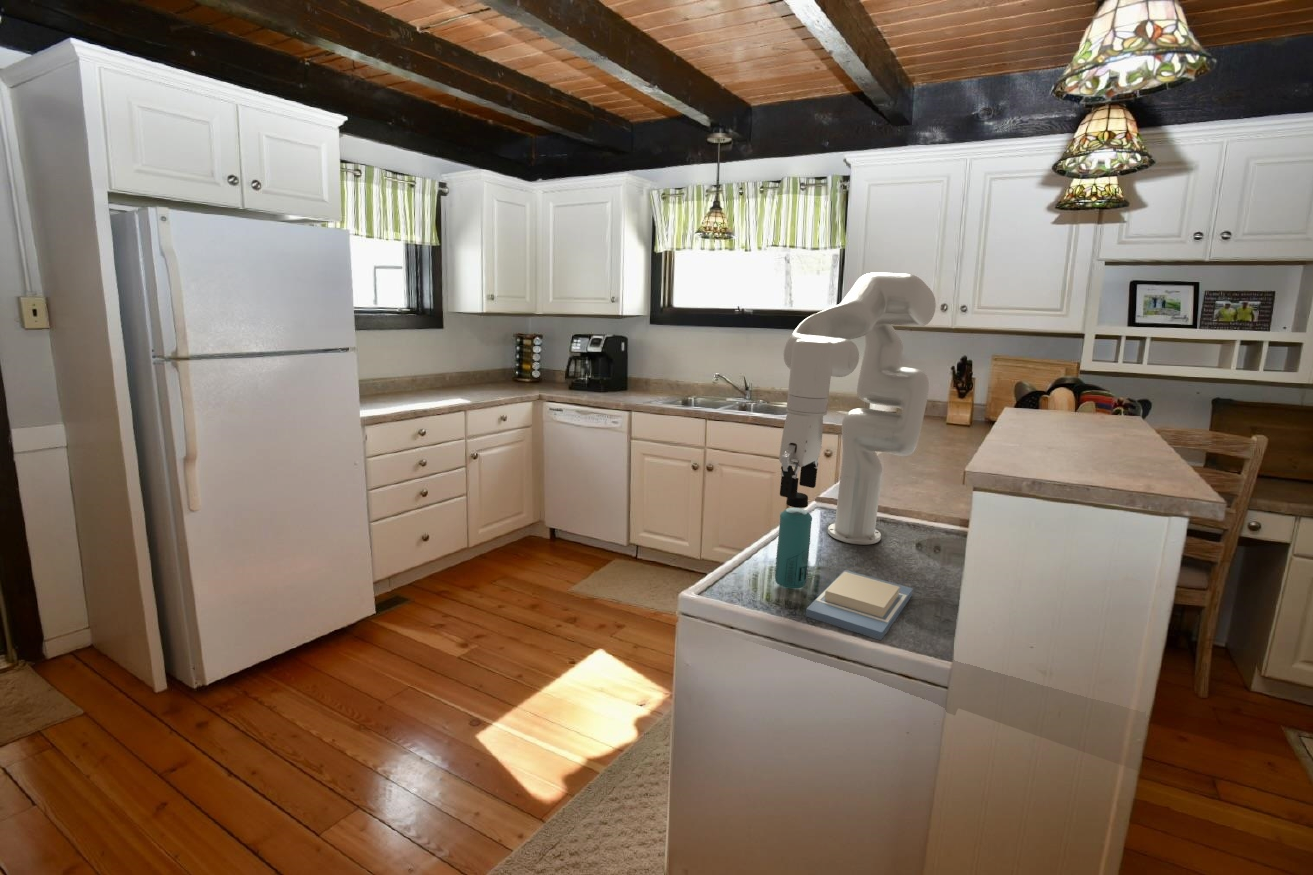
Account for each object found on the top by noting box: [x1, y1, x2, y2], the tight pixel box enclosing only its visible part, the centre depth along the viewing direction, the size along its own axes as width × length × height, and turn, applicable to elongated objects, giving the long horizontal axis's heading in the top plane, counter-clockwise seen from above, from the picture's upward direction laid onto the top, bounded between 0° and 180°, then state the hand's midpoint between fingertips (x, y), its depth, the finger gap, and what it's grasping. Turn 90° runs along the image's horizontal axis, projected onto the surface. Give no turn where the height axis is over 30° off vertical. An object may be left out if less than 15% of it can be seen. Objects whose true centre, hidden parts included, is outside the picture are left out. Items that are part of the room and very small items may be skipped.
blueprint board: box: [805, 569, 914, 641], centre depth 134 cm, size 22×14×4 cm, turn 147°
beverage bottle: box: [773, 491, 813, 589], centre depth 137 cm, size 6×7×20 cm
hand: (797, 491), depth 134 cm, fingers open, 9 cm apart
